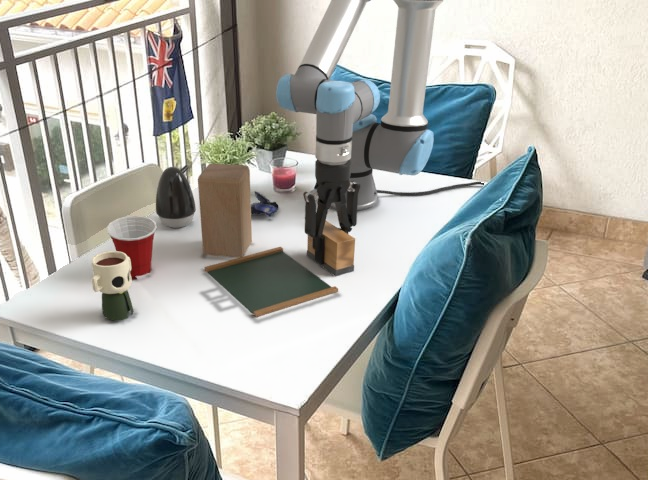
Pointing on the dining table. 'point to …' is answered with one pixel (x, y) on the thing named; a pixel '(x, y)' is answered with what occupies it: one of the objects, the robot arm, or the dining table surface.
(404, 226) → the dining table surface
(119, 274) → the character mug
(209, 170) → the block
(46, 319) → the dining table surface
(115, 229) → the plastic cup
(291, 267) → the chalkboard
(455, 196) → the dining table surface
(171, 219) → the black egg-shaped piece
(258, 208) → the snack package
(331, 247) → the eraser
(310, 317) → the dining table surface
